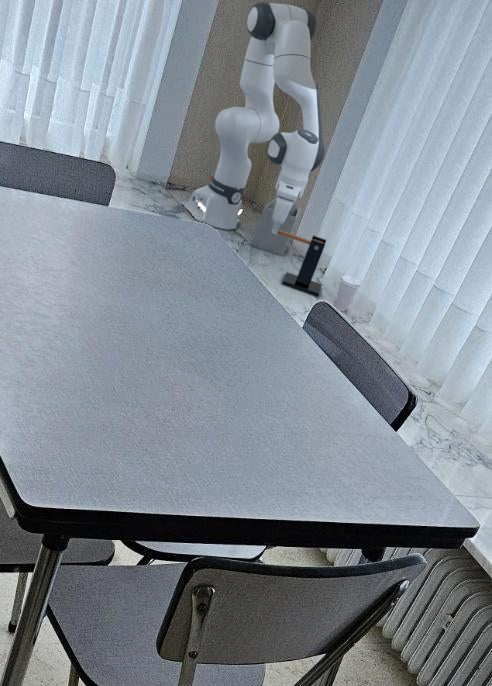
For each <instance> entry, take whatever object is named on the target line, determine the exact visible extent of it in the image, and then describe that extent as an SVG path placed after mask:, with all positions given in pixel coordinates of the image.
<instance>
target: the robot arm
mask: <svg viewBox="0 0 492 686" xmlns="http://www.w3.org/2000/svg"><path fill="white" fill-rule="evenodd" d="M317 21H318V20H317V16H316V14H315V13H314V11H311V10H310V9H307V8H304V7H302V8H301V7H298V6H295V5H292V4H287V3H275V2H268V1H258V2H256V3H254V4H253V5H252V6H251V8H250V10H249V12H248V13H247V19H246V29H247V32H248V34H249V36H250V40H249V42H248V45H247V49H246V52H245V56H244V60H243V66H242V70H241V74H240V80H239V86H240V87H239V88H240V89H241V90H242V92H243V93H244V98H245V105H244V106H233V107H228V108H225V109H223V110H221V111H220V112H219V113H217V116H216V119H215V121H214V122H215V123H214V128H215V133H216V135H217V136H218V138H219V141H220V154H219V160H218V161H217V162H218V163H217V166H216V170H215V173H214V175H208V178H207V180H210V181H209V182H208V184H207V185H204V186H202V187H199V188H197V189H194V190H193V192H192V193H191V195H190V197H189V199H188V200H189V201H186V200H185V201H186V202H189V203H190V204H191V205H192V206H193V207H194V208H195V210H196V211H197V212H198V213H199V215H200V216H201V218H202V220H201V219H198V218H193V220H195V219H198V220H195V221H196V222H199V223H202V224H206V225H209V226H211V227H214V228H216V229H222V230H235V229H237V227H238V226H237V225H239V224H240V219H239V217H240V214H241V213H242V211H243V209H241V208H242V203H243V201H242V199H243V198H244V196H245V194H246V189H247V186H246V185H247V183H248V182H247V181H248V179H249V176H250V173H251V170H252V160H251V159H250V157H248V150H249V145H250V144H263V143H267V142H268V144H267V147H266V156H267V157H268V160H269V162H270V163H271V164H274V165H276V166H280V167H281V169H280V172H279V174H278V177H277V180H276V183H275V186H274V188H275V192H276V193H275V195H276V198H277V199H276V198H275V199H276V203H275V208H274V212H273V217H272V221H273V222H274V224H273V228H272V231H271V233H272V234H274V235H276V234H277V232H278V229H279V227H280V225H282V224H283V223H284V221H285V220H286V217H287V215H288V213H289V211H290V209H291V207H292V205H293V203H294V202H296V203H297V201H298V199H300V198H302V197H303V196H304V192H305V190H306V187H307V185H308V183H309V182H308V181H309V175H310V173H311V172H313V171H315V170H316V169H318V168H319V167H320V166H321V165H322V163H323V162H324V160H325V156H326V148H325V143H324V139H323V138H324V137H323V132H322V130H323V129H322V115H321V100H320V92H319V87H318V84H317V83H316V82H315V80H314V77H313V75H312V67H311V57H312V56H311V53H312V52H311V51H312V49H311V41H313V39H314V37H315V35H316V31H317V28H318V27H317V26H318V22H317ZM275 84H276V85H277V87H279V89H280V90H281V91H282V92H284V93H285V94H286V95H288V96H290V97H291V98H292V99H294V100H295V101H296V103H297V104H298V105H299V107H300V108H301V112H302V124H303V125H302V127H303V129H297V130H295V131H293V132H283V131H282V132H280V131H279V130H280V119H279V116H278V114H277V113H276V111H275V106H274V89H275V88H274V87H275ZM181 203H182V204H183V201H181ZM182 204H181V205H182ZM183 205H184V204H183ZM184 207H185V208H186V209H188V208H187V207H186V206H185V205H184ZM184 207H183V208H184ZM185 208H184V209H185ZM186 209H185V210H186ZM188 210H189V209H188ZM189 211H190V210H189ZM190 212H191V211H190ZM191 213H192V212H191ZM192 216H194V215H193V214H192ZM192 216H191V217H192ZM196 216H197V215H196ZM200 216H197V217H200ZM194 217H195V216H194Z"/></svg>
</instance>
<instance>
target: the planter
mask: <svg viewBox="0 0 492 686" xmlns="http://www.w3.org/2000/svg"><path fill="white" fill-rule="evenodd" d="M276 199H277V197H276V198H274V199H273V200H272V201H270V202H269V203H267V204H266V205H265V206H264V207H263V209H262V212H261V215H260V216H259V220H258V223H257V226H256V229H255V232H254V235H253V237H252V240H251V243H250V246H252V247H253V248H254V247H255V248H257V249H261V250H264V251H267V252H270V253H273V254H276V255H280V256H283V255H285V252H286V250H287V248H288V244H289V241H290V239H291V238H289V237H286V236H283V235H280V234H278V233H277V234H276V235H272V233H271V231H272V228H273V224H274V222H273V221H272V217H273V212H274V208H275V203H276ZM300 210H301V208H300V206H299V205H298V203H297V201H296V202H294V203H293V205H292V207H291V209H290V211H289V213H288V215H287V217H286V220H285V221H284V223H283V224H282V225H280V227H279V230H281V231H284V232H287V233H290V234H293V231H294V228H295V225H296V223H297V219H298V217H299V214H300Z"/></svg>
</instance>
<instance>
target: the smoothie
mask: <svg viewBox="0 0 492 686" xmlns="http://www.w3.org/2000/svg"><path fill="white" fill-rule="evenodd" d="M359 270H360V267H357V268H356V270H355V273H354V274H353V276H350V275H341V277H340V278H339V281H340V283H339V286H338V290H337V294H336V296H335V297H336V298H335V301H334V305H333V307H334V306H335V307H336V308H337V309H338V310H337V309H336V310H337V311H339V312H346V310H347V308H348V307H349V305H350V303H351V301H352V300H353V298H354V296H355V295H356V292H357V290H358V289H359V288H360V287H361V284H362V282H361V281H360V280H359V279H357V278H356V277H357V275H358V273H359Z"/></svg>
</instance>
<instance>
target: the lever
mask: <svg viewBox="0 0 492 686" xmlns="http://www.w3.org/2000/svg"><path fill="white" fill-rule="evenodd" d="M277 233H278V234H280V235H283V236H286V237H289V238H290V239H292V240H295V241H297V242H301V243H304V244H306V245H308V246H309V245H310V243H311V240H310V239H307V238H304V237H301V236H299V235H296V234H294V233H292V234H290V233H287V232H284V231H281V230H279V229H278V232H277ZM272 235H274V234H272ZM314 240H316V239H314ZM317 241H319V240H317ZM320 242H321V241H320ZM322 243H323V242H322Z"/></svg>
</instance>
